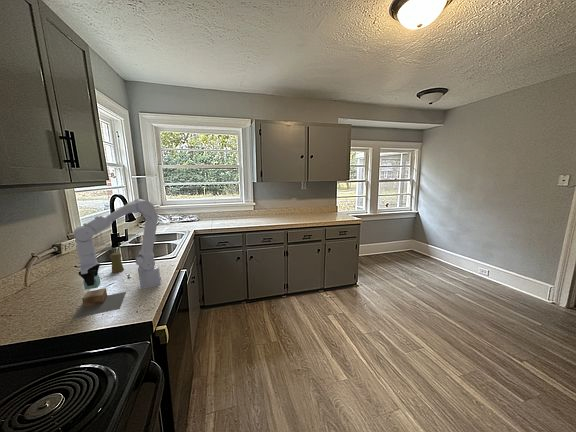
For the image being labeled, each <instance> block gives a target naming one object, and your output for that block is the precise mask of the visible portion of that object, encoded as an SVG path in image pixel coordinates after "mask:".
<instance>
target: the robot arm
mask: <svg viewBox="0 0 576 432" xmlns="http://www.w3.org/2000/svg"><path fill="white" fill-rule="evenodd" d="M138 213H139V214H141V216H143V217H144V218H145V222H144V228H143V235H142V240H141V248H140V250H139V251H138V255H137V257H136V258H135V264H136V265H137V266H138V267H137V272H138V273H137V274H138V280H139V286H138V290H142V289H147V288H152V287H159V286H161V281H162V276H161V272H160V267H159V266H155V265H156V261H155V254H154V244H155V238H156V233H157V225H158V219H159V216H158V213H157V211H156V209H155V205H154V204H153V203H152V202H151V201H149V200H145V199H141V198H136V199H134V200H133V201H130V202H128V203H125V204H124V205H123V206H122V207H119V208H118V209H116V210H114V211H113V212H111V213H109V214H108V215H105V216H104V215H100V216H98V215H97V216H95V217H94V219H92V220H91V221H88V222H86V223H83V224H82V226H81V225H80V226H77V227H75V229H74V230H73V233H72V235H73V237H74V238H75V243H76V246H75V247H76V251H77V257H78V260H79V263H78V264H76V267H77V268H80V270H79V271H78V276H80V277H81V278H82V279H83V281H85V282H86V284H87V286H92V285H94V276H97V275H99V269H100V266H101V263H99V261H98V260H97V254H96V249H95V244H94V240H93V237H94V236H95V235H97V234H100V233H101V232H103V231H104V230H106V229H108V228H110V227H111V224H112V223H113V222H115V221H116V220H118V219H121V218H123V217H124V216H125V215H128V214H138Z"/></svg>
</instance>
